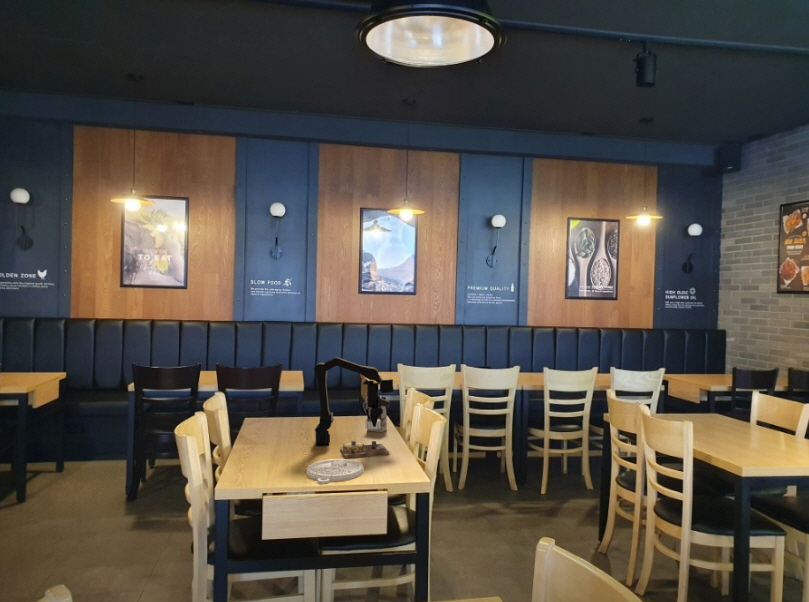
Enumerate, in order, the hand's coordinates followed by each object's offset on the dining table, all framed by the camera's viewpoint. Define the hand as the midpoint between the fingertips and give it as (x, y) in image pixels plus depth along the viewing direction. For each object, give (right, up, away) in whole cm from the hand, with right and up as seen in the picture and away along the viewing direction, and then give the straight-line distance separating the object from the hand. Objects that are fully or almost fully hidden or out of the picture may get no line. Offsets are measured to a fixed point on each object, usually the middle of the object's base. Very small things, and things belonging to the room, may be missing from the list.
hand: (372, 425), depth 279 cm
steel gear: (0, -1, 0) cm, 1 cm away
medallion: (-14, -10, -45) cm, 48 cm away
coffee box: (+1, -9, +27) cm, 29 cm away
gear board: (-3, -9, -15) cm, 18 cm away
